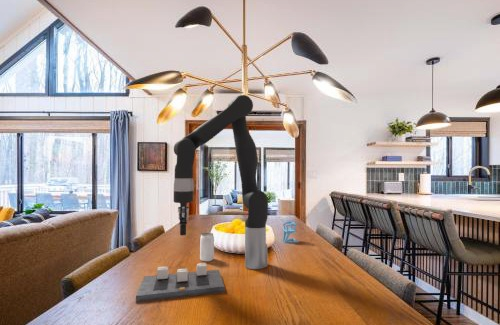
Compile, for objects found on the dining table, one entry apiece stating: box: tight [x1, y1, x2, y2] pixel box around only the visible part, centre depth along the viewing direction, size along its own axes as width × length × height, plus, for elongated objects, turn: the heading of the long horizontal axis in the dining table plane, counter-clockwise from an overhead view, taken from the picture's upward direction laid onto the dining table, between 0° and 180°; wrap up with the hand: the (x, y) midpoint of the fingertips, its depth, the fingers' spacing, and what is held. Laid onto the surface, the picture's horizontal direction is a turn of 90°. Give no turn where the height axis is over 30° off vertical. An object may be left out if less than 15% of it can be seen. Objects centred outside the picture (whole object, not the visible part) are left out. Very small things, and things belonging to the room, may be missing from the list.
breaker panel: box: [135, 269, 225, 303], centre depth 91 cm, size 28×16×2 cm, turn 104°
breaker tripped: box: [176, 268, 189, 282], centre depth 91 cm, size 4×2×4 cm, turn 104°
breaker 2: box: [196, 262, 208, 276], centre depth 97 cm, size 4×2×4 cm, turn 104°
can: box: [199, 232, 215, 263], centre depth 121 cm, size 6×6×12 cm
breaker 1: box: [156, 265, 169, 279], centre depth 94 cm, size 4×2×4 cm, turn 104°
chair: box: [282, 221, 300, 244], centre depth 154 cm, size 8×8×12 cm
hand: (183, 234), depth 99 cm, fingers closed
